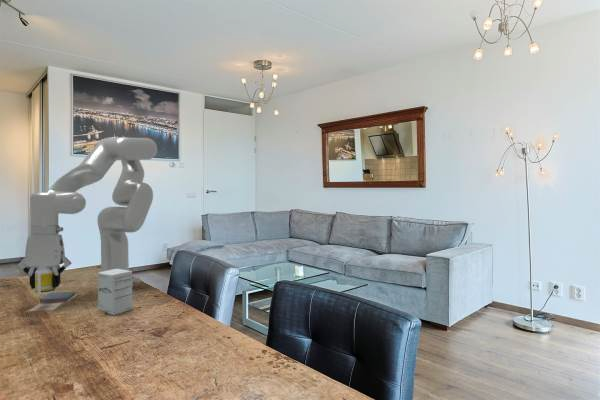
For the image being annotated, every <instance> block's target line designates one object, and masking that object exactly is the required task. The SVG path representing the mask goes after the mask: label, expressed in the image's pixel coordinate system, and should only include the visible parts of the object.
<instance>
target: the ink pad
mask: <svg viewBox="0 0 600 400" xmlns="http://www.w3.org/2000/svg"><path fill="white" fill-rule="evenodd" d="M74 295H76V291H63V292H53V293H49V294H45V295H44V296H43V297H41V298H39V302H40V303H48V302H67V301H68V300H69V299H71V298H72V297H73V296H74ZM73 298H74V297H73ZM73 298H72V299H73ZM72 299H71V300H72ZM68 302H69V301H68ZM68 302H67V303H68Z"/></svg>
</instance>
